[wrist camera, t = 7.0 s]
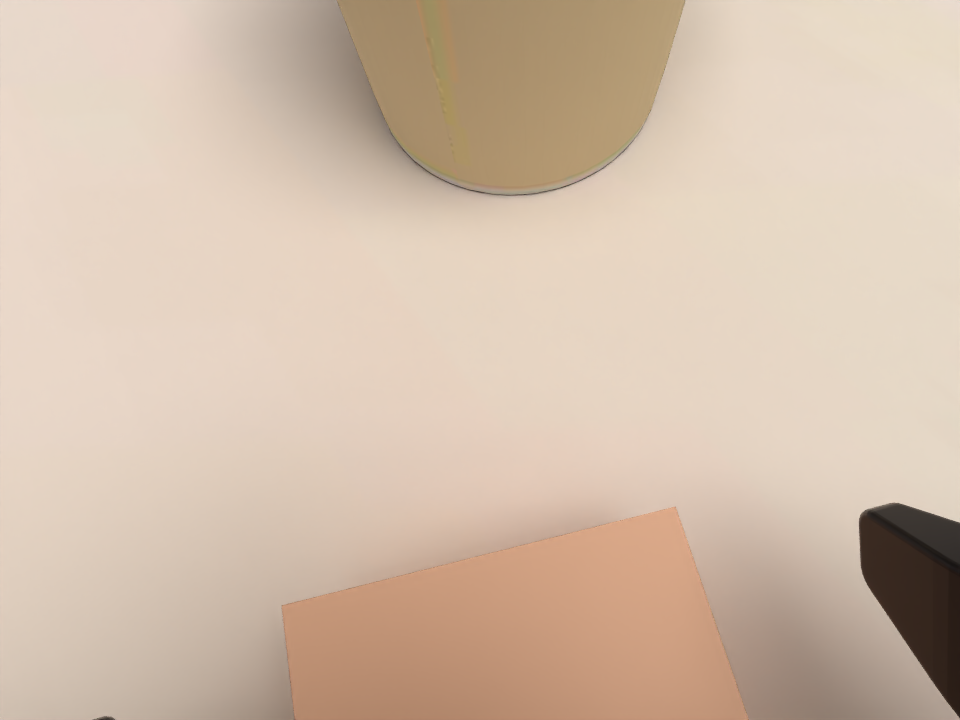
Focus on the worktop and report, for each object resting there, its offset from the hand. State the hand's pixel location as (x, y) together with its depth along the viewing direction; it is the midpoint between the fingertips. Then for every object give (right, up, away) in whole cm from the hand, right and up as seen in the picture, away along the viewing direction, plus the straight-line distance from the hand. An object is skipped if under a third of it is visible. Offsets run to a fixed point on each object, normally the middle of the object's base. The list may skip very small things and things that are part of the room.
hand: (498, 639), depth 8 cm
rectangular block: (+1, -4, +6) cm, 7 cm away
